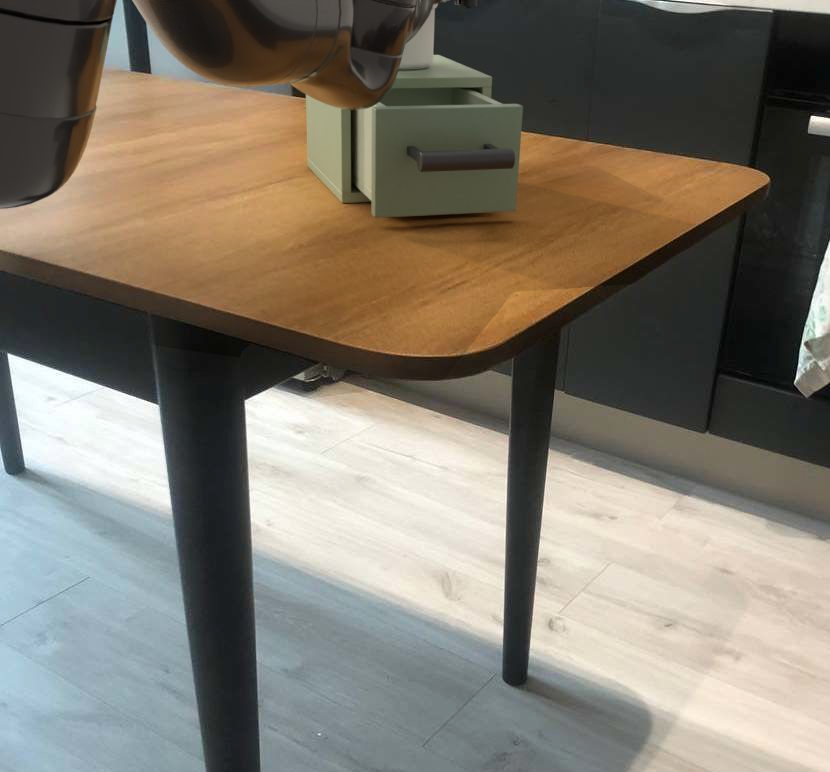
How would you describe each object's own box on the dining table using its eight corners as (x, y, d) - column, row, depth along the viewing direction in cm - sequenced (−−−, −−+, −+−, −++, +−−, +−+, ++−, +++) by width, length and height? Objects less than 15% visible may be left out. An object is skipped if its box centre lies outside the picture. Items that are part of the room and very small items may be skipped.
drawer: (538, 226, 81) (547, 116, 77) (391, 234, 78) (392, 120, 74) (462, 174, 96) (466, 80, 92) (336, 179, 93) (335, 82, 89)
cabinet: (485, 197, 93) (492, 76, 88) (341, 203, 89) (340, 78, 85) (435, 162, 105) (439, 54, 100) (307, 166, 102) (304, 55, 97)
